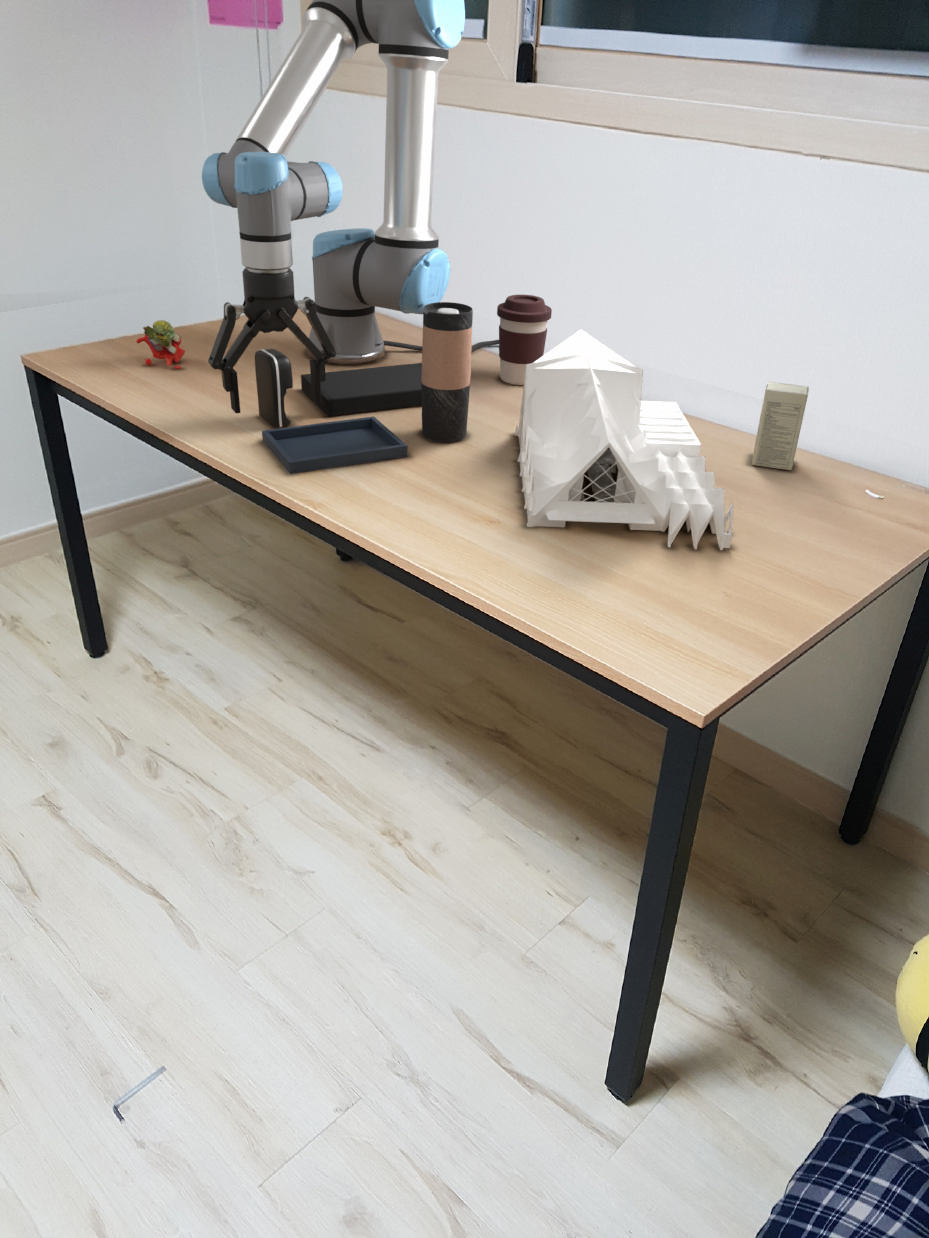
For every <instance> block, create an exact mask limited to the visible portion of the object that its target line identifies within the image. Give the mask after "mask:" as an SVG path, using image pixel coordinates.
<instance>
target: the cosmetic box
mask: <svg viewBox="0 0 929 1238" xmlns="http://www.w3.org/2000/svg"><path fill="white" fill-rule="evenodd" d="M809 389H810V388H809V386H807V385H799V384H790V383H783V382H782V383H781V382H773V381H767V384H766V386H765V391H764V396H763V401H762V406H761V412H760V416H759V422H758V427H757V432H756V437H755V443H754V448H753V454H752V459H751V462H750V463H751V465H752V466H757V467H763V468H772V469H779V470H787V471H793V466H794V462H795V457H796V452H797V449H798V443H799V439H800V434H801V429H802V424H803V421H804V420H803V419H804V416H805V411H806V406H807V403H808V402H807V401H808V396H809V391H810V390H809Z"/></svg>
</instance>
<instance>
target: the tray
mask: <svg viewBox="0 0 929 1238" xmlns="http://www.w3.org/2000/svg"><path fill="white" fill-rule="evenodd" d="M261 436H262V437H261V439H262V443H263V444H264V445H265V446H266V447H267V449H268V450H269V451H270V452H271V453H272V455H273V456H274V457H275V458H276V460H277V461H278V462H279V463H280V465H282V467H283V468H284V469H285V470H286V471H287V473H288V474H289V475H292V474H299V473H300V474H301V473H305V472H313V471H314V472H315V471H320V470H327V469H334V468H339V467H347V466H354V465H361V464H366V463H374V462H381V461H387V460H394V459H400V458H407V457H409V445H408V444H406V442H404V441H403V440H402V439H401V438H400V437H399V436H397V435H396V434H395V433H394V432H393V431H391V429H389V428H388V427H387V426H385V424H383V422H381V421H380V420H379V419H378V418H376V417H375V416H366V417H359V418H358V417H357V418H350V419H343V420H334V421H327V422H319V423H311V424H304V425H295V426H286V427H281V428H279V427H278V428H271V429H262V430H261Z"/></svg>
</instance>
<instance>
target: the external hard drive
mask: <svg viewBox="0 0 929 1238" xmlns="http://www.w3.org/2000/svg"><path fill="white" fill-rule="evenodd" d="M325 372H326V379H325V381H322V382H320V384H321V403H319V404H317V403H316V402H315V401H313V400H312V398H311V377H310V373H304V374H301V375H300V384H301V392H302V393H303V394H304V395H305V396H306V397H307V398H308V399H309V400H310V401H311V402H312V403H313V404H314V405H315V406H316V407H317V408H318V409H319V410H320V411H321V412H322V413H323V414H324V415H325V416H326V417H335V416H343V415H344V416H345V415H354V414H360V413H369V412H378V411H385V410H395V409H403V408H404V409H405V408H411V407H412V408H413V407H422V393H421V377H422V362H417V363H416V362H415V363H405V364H395V365H386V366H375V367H365V368H357V369H354V368H353V369H345V370H344V369H343V370H334V371H325Z"/></svg>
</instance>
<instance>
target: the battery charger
mask: <svg viewBox="0 0 929 1238" xmlns="http://www.w3.org/2000/svg"><path fill="white" fill-rule="evenodd" d="M254 371H255V383H256V394H257V406H258V415H259V417H260V418H261V419H263V420H264V421H265V422H266V423H268V424H269V425H271V426H272V427H274V428H275V429H279V428H284V427H288V426H290V425H291V424H292V420H291V418H289V417H288V416H287V413H286V409H285V396H286V394H287V392H288V391H287V390H291V389H293V388H294V387H293V386H294V381H293V380H294V379H293V370H292V364H291V360H290V359H289V357H288V356H287V355H285V354H284V353H283V352H281V351H279V350H277V349H275V348H266V349H261V348H260V349H258V350H256V351H255V352H254Z"/></svg>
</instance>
